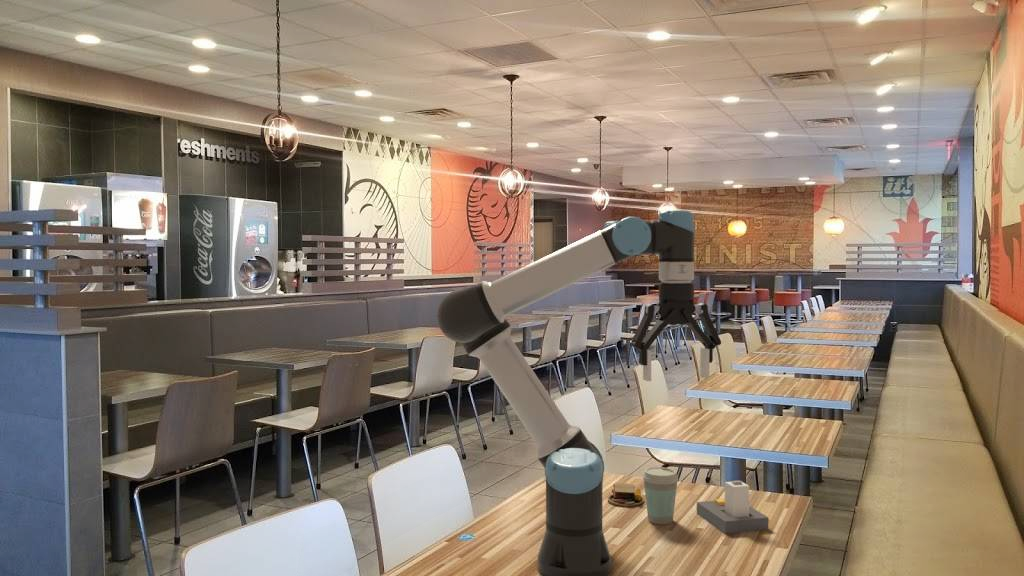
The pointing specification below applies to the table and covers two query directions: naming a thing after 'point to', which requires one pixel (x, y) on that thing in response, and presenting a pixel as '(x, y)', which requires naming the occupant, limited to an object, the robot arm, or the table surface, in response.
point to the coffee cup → (660, 494)
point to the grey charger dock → (725, 523)
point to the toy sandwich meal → (625, 495)
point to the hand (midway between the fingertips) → (676, 379)
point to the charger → (736, 499)
